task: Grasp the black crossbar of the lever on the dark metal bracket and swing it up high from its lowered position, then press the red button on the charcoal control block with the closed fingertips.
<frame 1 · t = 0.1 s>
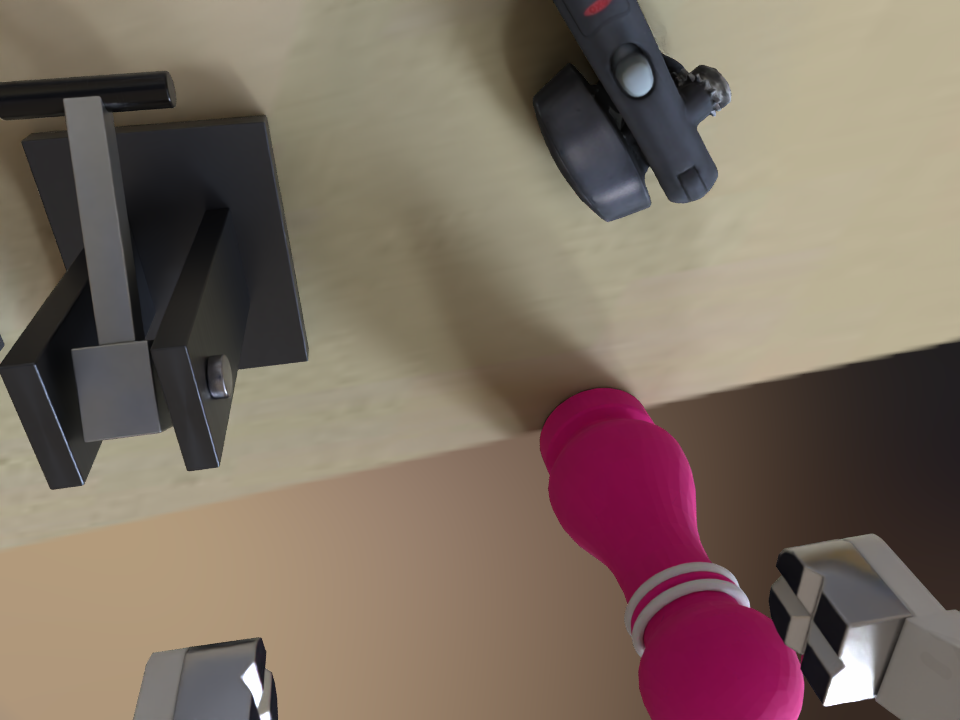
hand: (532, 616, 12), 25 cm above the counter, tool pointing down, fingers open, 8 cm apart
lever: (110, 257, 23), point 9 cm above the counter, hinge at -28.0°
can opener: (566, 0, 30), on the counter
pepper mill: (592, 431, 42), on the counter
bracket: (184, 252, 33), on the counter
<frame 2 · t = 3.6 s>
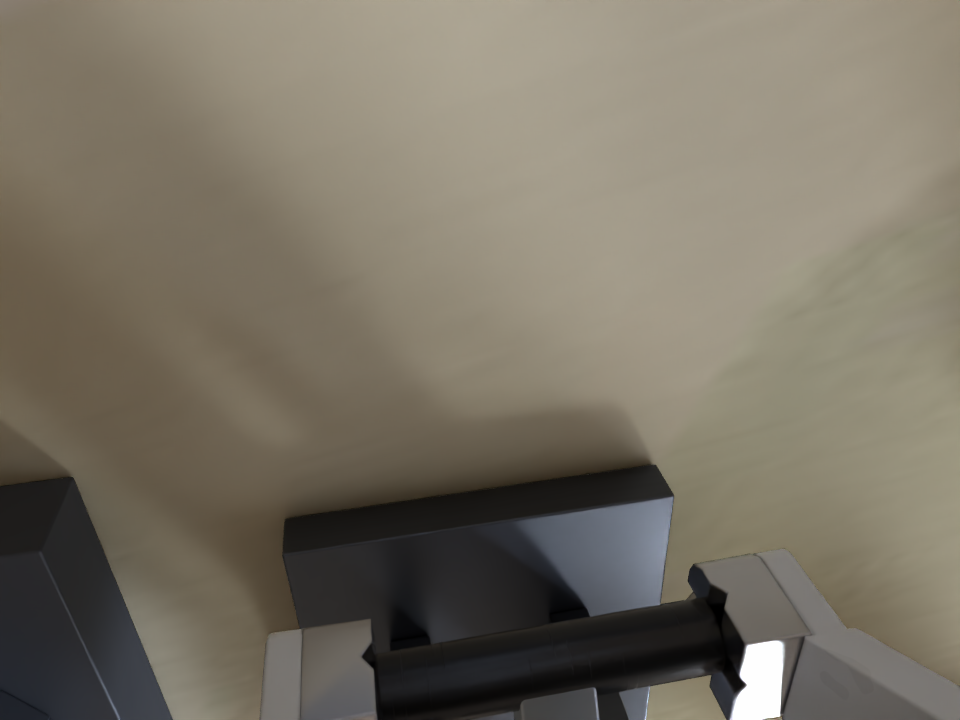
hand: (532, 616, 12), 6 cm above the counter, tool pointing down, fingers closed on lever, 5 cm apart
bracket: (484, 641, 21), on the counter
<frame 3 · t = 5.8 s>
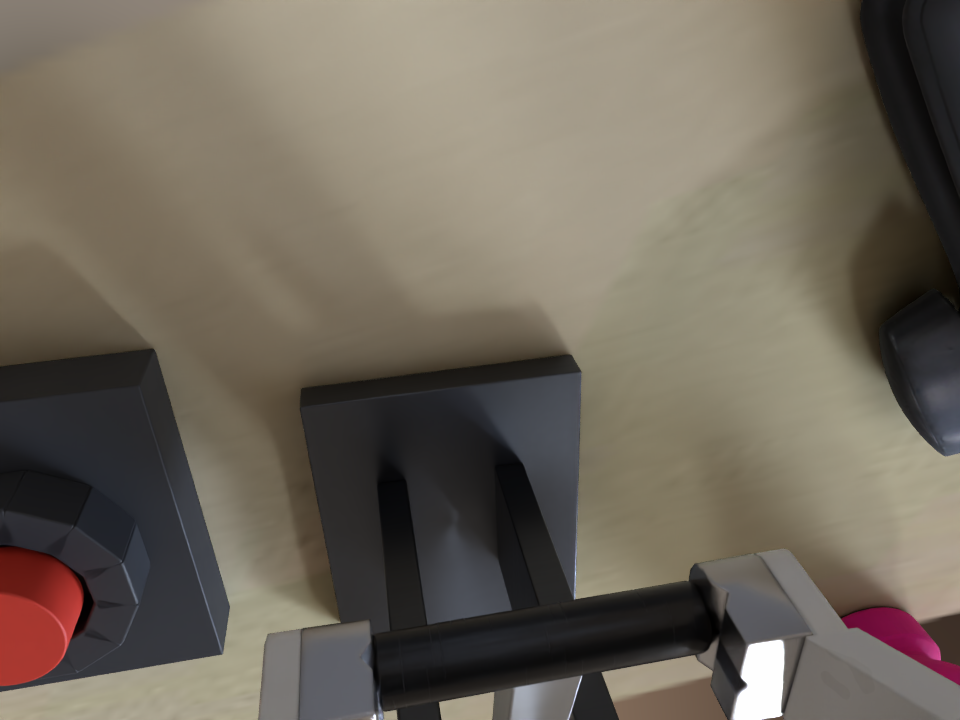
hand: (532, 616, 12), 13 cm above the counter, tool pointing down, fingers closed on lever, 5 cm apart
control block: (55, 511, 25), on the counter
can opener: (929, 215, 25), on the counter
pepper mill: (853, 648, 36), on the counter
bracket: (449, 500, 27), on the counter
button: (5, 616, 21), point 4 cm above the counter, slide at 0.1 cm
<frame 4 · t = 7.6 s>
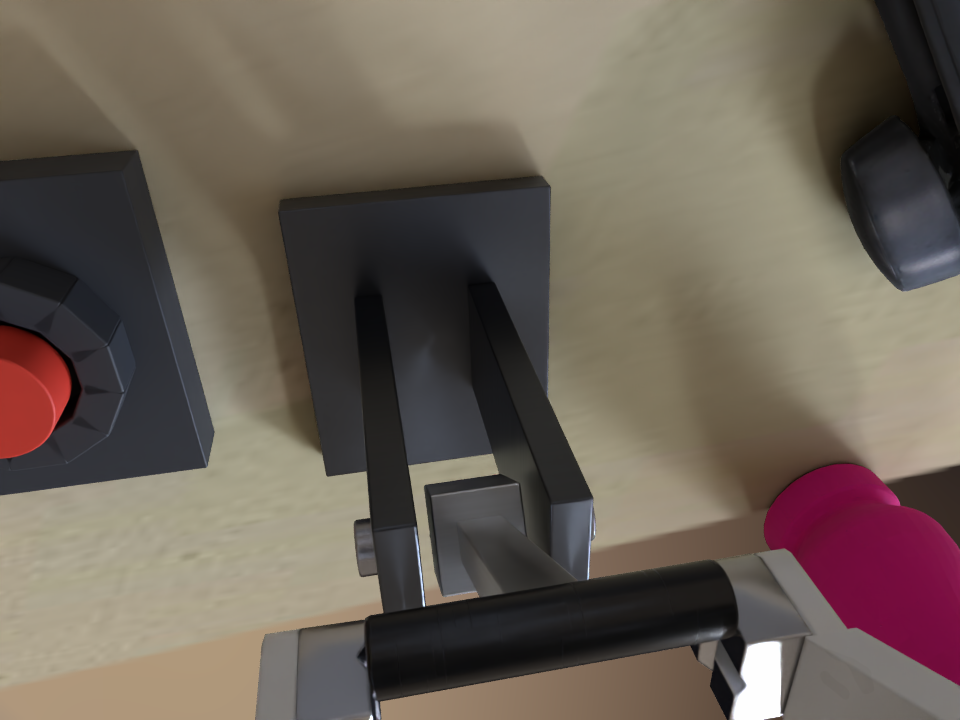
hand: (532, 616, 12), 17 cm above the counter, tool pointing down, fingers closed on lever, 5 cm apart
lever: (498, 560, 15), point 14 cm above the counter, hinge at 54.9°, touching gripper
control block: (44, 321, 26), on the counter
can opener: (890, 43, 26), on the counter
pepper mill: (818, 508, 38), on the counter
bracket: (425, 328, 29), on the counter
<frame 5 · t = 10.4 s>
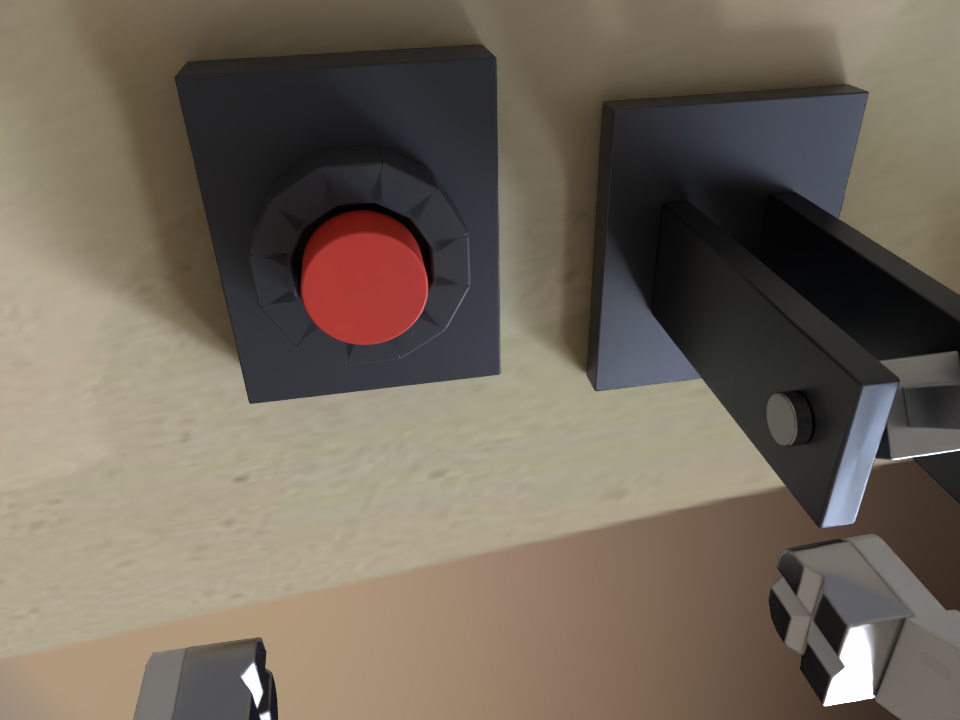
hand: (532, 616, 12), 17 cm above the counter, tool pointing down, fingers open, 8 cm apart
control block: (358, 222, 26), on the counter
bracket: (707, 241, 29), on the counter
button: (364, 278, 22), point 4 cm above the counter, slide at 0.1 cm
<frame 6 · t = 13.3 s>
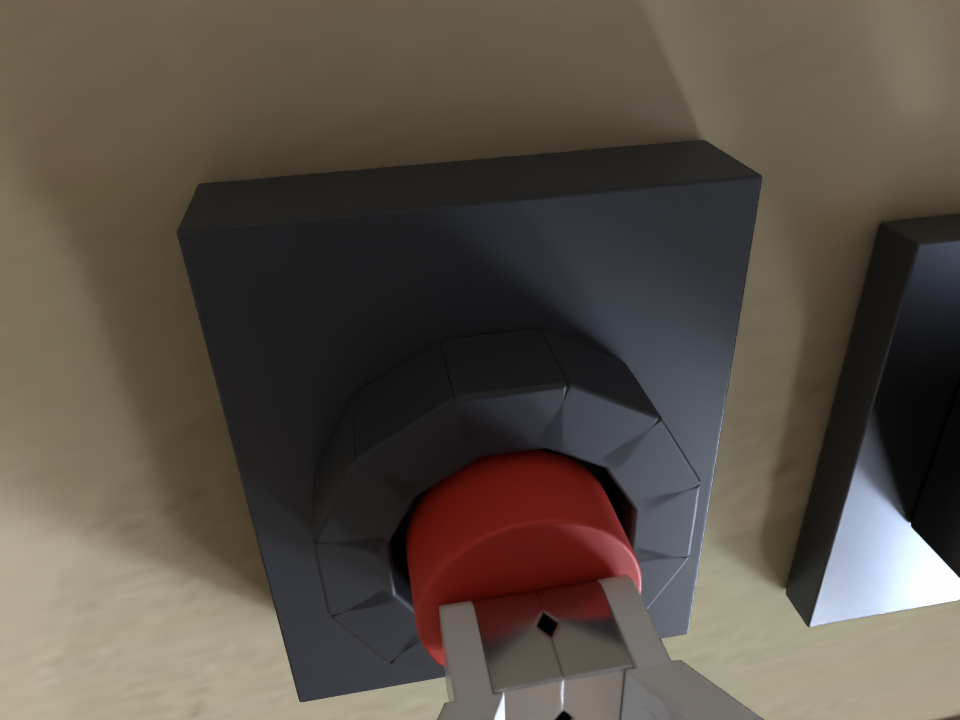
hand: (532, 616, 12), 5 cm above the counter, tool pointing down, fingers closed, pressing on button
control block: (474, 415, 16), on the counter
button: (519, 567, 12), point 4 cm above the counter, slide at 0.0 cm, touching gripper
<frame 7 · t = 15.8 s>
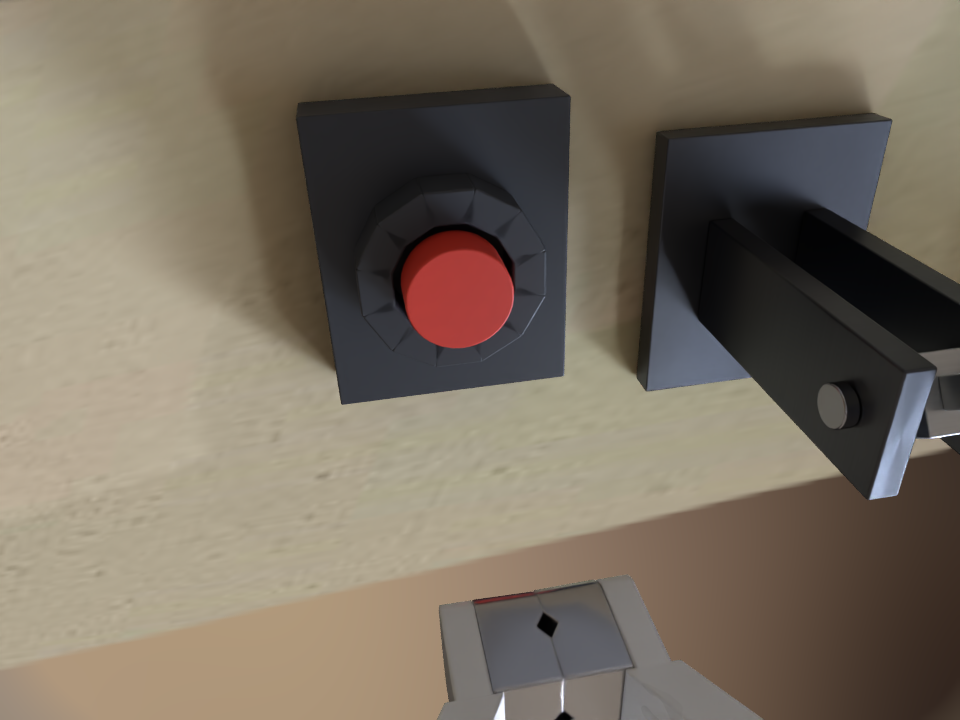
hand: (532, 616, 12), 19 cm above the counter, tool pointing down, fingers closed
control block: (438, 241, 29), on the counter
bracket: (746, 254, 32), on the counter
button: (456, 289, 25), point 4 cm above the counter, slide at 0.1 cm
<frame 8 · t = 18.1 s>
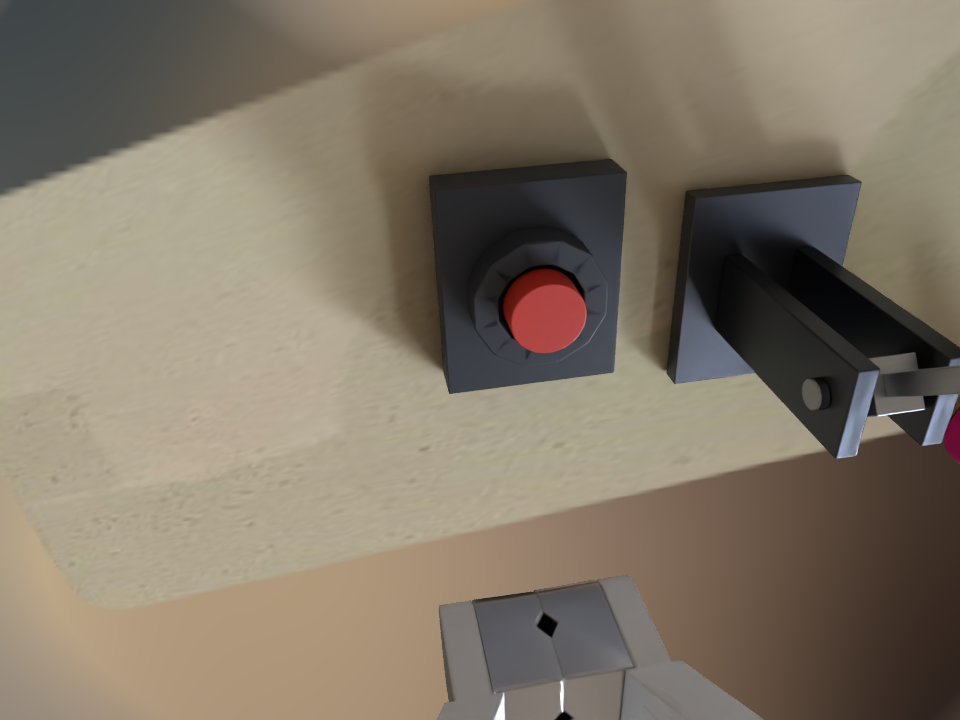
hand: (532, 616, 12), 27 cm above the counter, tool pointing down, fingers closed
lever: (944, 380, 28), point 14 cm above the counter, hinge at 54.6°
control block: (522, 271, 39), on the counter
bracket: (752, 279, 42), on the counter
button: (544, 311, 35), point 4 cm above the counter, slide at 0.1 cm
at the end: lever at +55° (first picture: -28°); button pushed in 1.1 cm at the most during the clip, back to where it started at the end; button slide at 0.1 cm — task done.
